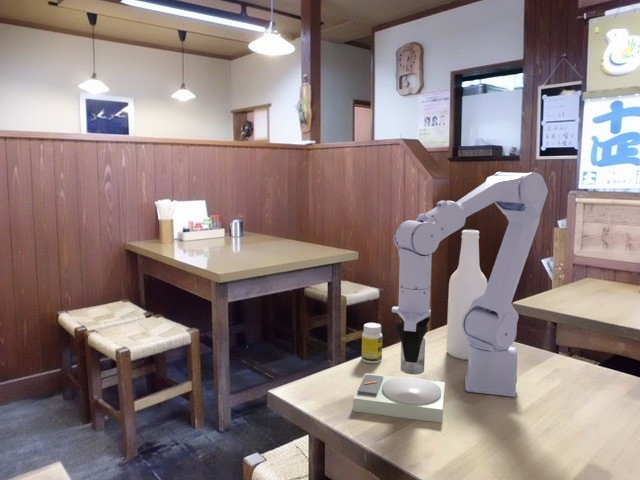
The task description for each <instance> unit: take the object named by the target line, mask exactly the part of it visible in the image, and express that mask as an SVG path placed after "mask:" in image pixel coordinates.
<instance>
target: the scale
mask: <svg viewBox="0 0 640 480" xmlns="http://www.w3.org/2000/svg"><path fill="white" fill-rule="evenodd" d="M445 388H446V382H445V381H436V380H429V379H425V378H420V377H414V376H394V375H392V376H391V375H387V374H386V375H384V374H374V373H364V375H363V377H362V379H361V381H360V383H359V385H358V387H357V389H356V391H355V393H354V396H353V399H352V412H357V413H363V414H371V415H373V414H374V415H378V416H388V417H393V418H401V419H409V420H417V421H423V422H424V421H425V422H434V423H440V424H442V423H443V416H444V406H445V405H444V403H445V393H446V391H445V390H446V389H445Z"/></svg>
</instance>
